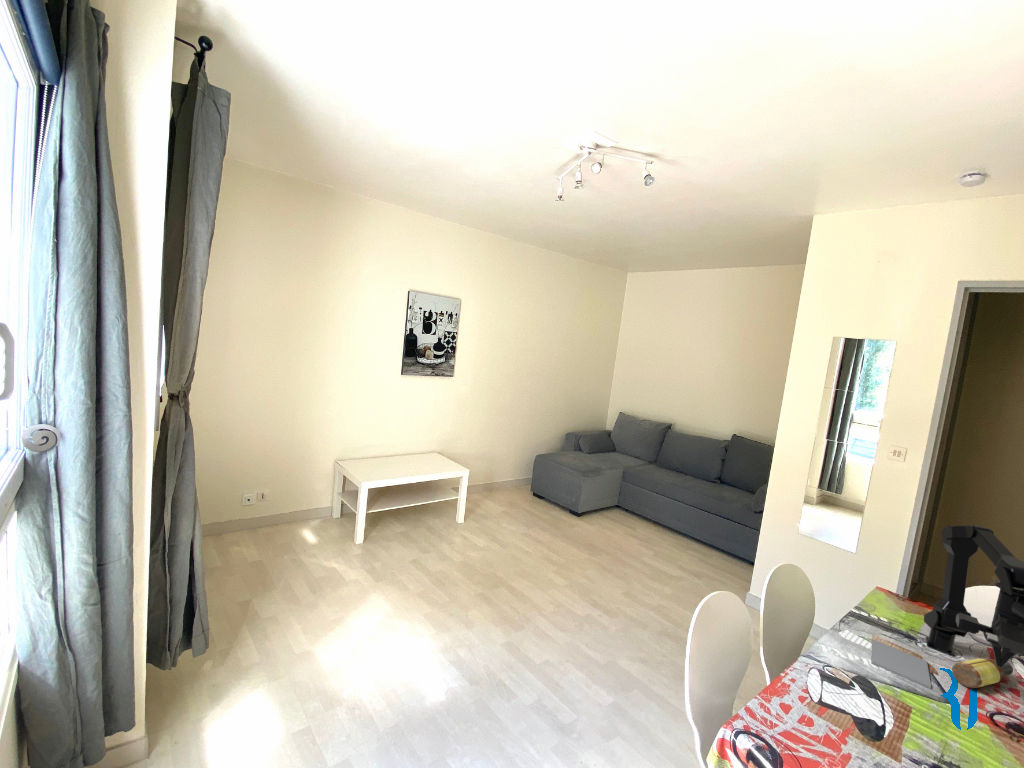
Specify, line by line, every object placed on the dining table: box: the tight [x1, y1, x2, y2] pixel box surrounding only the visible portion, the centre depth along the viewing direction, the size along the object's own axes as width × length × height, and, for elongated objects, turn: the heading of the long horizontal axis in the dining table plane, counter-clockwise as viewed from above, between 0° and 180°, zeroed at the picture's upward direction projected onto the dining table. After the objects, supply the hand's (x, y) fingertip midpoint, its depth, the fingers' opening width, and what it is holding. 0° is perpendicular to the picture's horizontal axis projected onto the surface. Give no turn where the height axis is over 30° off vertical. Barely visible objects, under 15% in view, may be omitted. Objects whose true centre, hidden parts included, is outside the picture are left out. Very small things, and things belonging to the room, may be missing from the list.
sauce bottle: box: [951, 657, 1014, 689], centre depth 130 cm, size 7×6×20 cm
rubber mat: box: [870, 638, 932, 690], centre depth 134 cm, size 15×13×1 cm
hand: (998, 666), depth 122 cm, fingers closed
